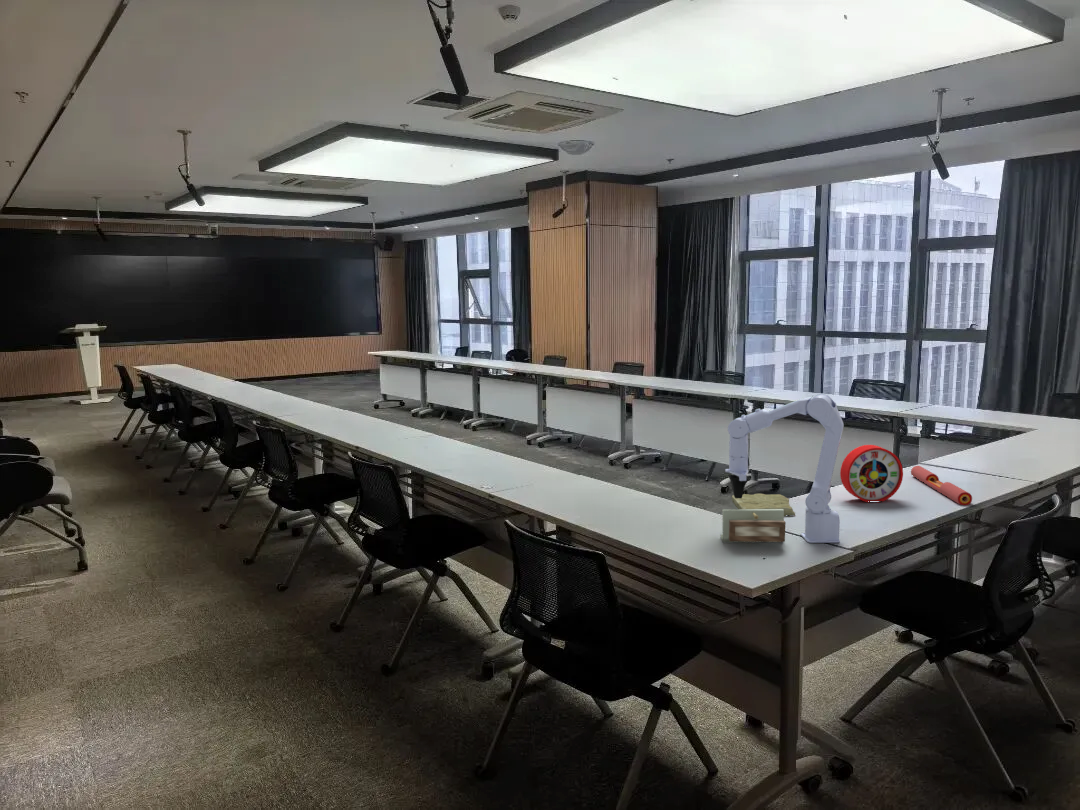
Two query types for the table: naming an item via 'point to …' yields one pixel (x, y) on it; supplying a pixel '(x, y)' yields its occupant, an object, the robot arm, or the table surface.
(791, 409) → the robot arm
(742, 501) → the decorative tile
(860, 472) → the toy clock
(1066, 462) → the table surface
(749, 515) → the curved green slab
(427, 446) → the table surface
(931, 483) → the blood vessel
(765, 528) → the picture frame
